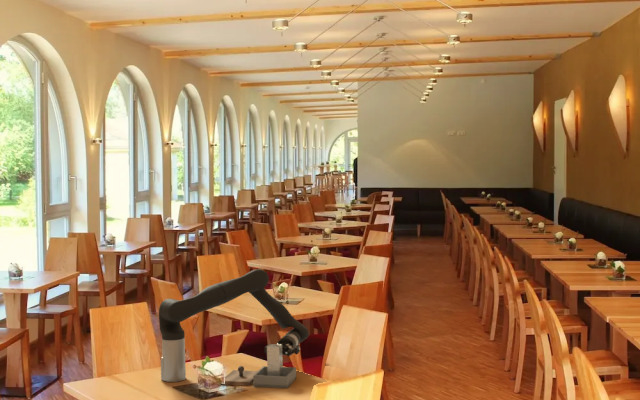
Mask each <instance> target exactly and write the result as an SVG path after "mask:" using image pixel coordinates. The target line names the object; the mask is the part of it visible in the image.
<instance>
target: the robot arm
mask: <svg viewBox="0 0 640 400" xmlns="http://www.w3.org/2000/svg"><path fill="white" fill-rule="evenodd" d="M269 279H270V277H269V274H268V272H266V271H265V270H263V269H261V268H260V269H259V268H257V269H252V270H250V271H249V272H246V273H245V274H244V275H242V276H239V277H237V278H232V279H229V280H225V281H224V280H223V281H221V282H217V283H215V284H211V285H209V286H207V287H205V288H204V289H202V290H200V292H199V293H198V294H196V295H195V296H192V297H188V298H185V299H181V300H180V299H179V300H178V299H174V298H166V299H164V300H163V301H161V302H160V305H159V308H158V321H159V322H158V324H159V331H160V334H161V343H162V344H161V345H162V346H161V348H162V351H161V352H162V356H161V357H160V378H161V379H160V380H161V381H163V382H168V383H176V382H181V381H184V380H186V377H187V376H186V374H187V371H186V342H185V341H186V340H185V338H186V337H185V330H184V329H183V327H182V325H181V322H183V321H185V320H187V319H189V318H190V317H191V318H192V317H193V316H194V315H195V316H196V315H197V314H200V313H203V312H205V311H208V310H211V309H213V308H216V307H220V306H222V305H224V304H227V303H229V302H231V301H233V300H235V299H237V298H238V297H240V296H242V295H244V294H247V293H249V294H250V295H251V296H253V298H254V299H255V300H257V301H258V302H259V303H260V304H261V305H262V306H263V308H265V309H266V310H267V312H268V313H269V314H270V316H272V317H273V319H274V320H275V321H276V323H277V325H279V327H280V328H281V329H286V328H287V329H288V328H290V327H291V328H292V329H290V330H289V331H288V332H286V333H285V335H283V336H282V337H281V338H280V339H279V340H278V342H277V343H276V344H282V356H286V357H290V356H293V355H294V354H295V355H298V354H300V351H301V345H300V343H302V342H303V341H305V340H306V339H308V337H309V335H310V332H309V329H308V328H307V327H306V326H305V325H304V324H302V323H301V322H300V321H298V320H297V319H296V318H295V317H294V316H293V315H292V314H291V312H289V310H288V309H287V308H286V307H285V305H284V304H282V302H280V301H279V300H277V299H276V298H274V297H273V296H272V295H271V294H269V293H268V291H267V290H266V287H267V285H268V283H269ZM270 344H271V343H269V344H267V345H266V346H264V354H265V355H266V356H267V347H268V346H269V345H270Z"/></svg>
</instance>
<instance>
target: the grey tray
mask: <svg viewBox="0 0 640 400" xmlns="http://www.w3.org/2000/svg"><path fill="white" fill-rule="evenodd" d="M257 371H258V372H257V373H256V374H254V375H253V383H252V385H253V387H254V388H274V389H289V388H290V386H291V385H292V384H293V383H294V381H296V379H297V368H296V367H292V366H291V367H290V366H283V376H268V372H267V366H262V367H260V369H258V370H257Z"/></svg>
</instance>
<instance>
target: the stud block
mask: <svg viewBox="0 0 640 400" xmlns="http://www.w3.org/2000/svg"><path fill="white" fill-rule="evenodd" d="M258 371H259V370H245V366H243V365H239V366H238V367H237V369H233V370H232V371H230V372H229V373H228V374H227V375H226V376H224V378H225V384H226V385H225V386H242V387H243V386H247V387H250V386H251V385H253V375H254V374H256V373H257V372H258Z"/></svg>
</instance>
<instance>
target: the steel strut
mask: <svg viewBox="0 0 640 400" xmlns="http://www.w3.org/2000/svg"><path fill="white" fill-rule="evenodd" d="M269 344H270V345H269V346H268V347H267V355H266V359H267V360H266V363H267V372H268V376H283V367H284V366H283V363H284V362H283V361H284V360H283V354H282V344H277V343H269Z"/></svg>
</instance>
